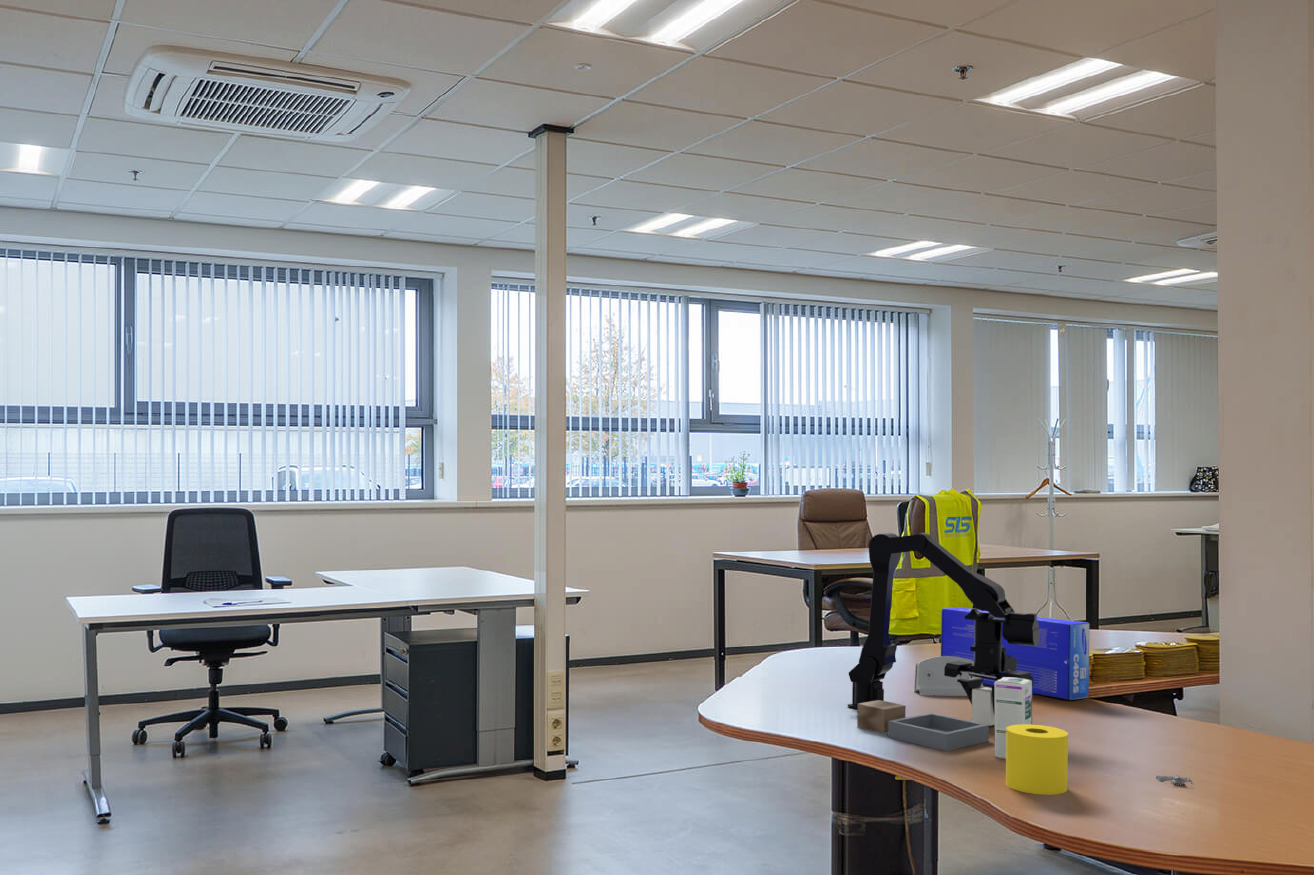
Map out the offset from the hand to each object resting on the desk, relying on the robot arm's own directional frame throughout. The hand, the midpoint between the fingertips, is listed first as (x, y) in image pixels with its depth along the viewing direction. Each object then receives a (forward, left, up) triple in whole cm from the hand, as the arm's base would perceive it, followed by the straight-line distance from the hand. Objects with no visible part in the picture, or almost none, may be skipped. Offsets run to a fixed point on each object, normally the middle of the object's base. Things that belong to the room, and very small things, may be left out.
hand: (987, 715), depth 240 cm
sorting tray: (+2, -20, -2) cm, 20 cm away
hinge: (-27, +24, -2) cm, 36 cm away
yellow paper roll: (+33, -35, -2) cm, 48 cm away
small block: (0, 0, -2) cm, 2 cm away
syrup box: (+19, -20, -2) cm, 28 cm away
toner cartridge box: (-22, +44, -2) cm, 49 cm away
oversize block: (-11, -21, -2) cm, 24 cm away
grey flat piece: (+43, -12, -3) cm, 45 cm away
